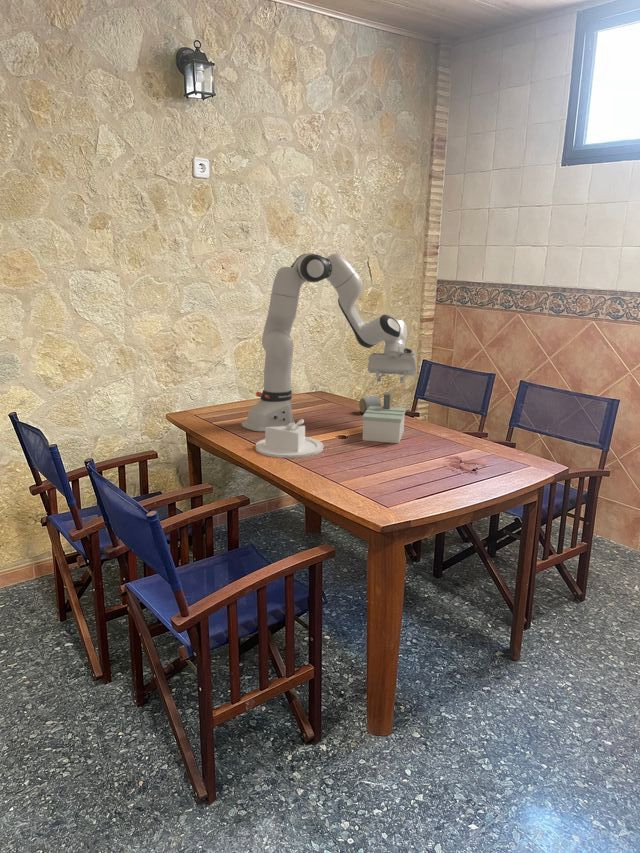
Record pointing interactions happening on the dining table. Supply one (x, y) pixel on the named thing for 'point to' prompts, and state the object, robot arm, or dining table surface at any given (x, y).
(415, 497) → the dining table surface
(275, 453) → the dish
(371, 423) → the tub
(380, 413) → the lid
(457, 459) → the cloth
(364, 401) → the ceramic mug
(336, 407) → the dining table surface
